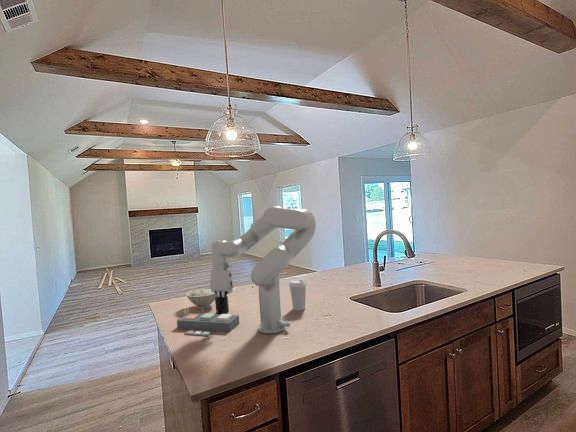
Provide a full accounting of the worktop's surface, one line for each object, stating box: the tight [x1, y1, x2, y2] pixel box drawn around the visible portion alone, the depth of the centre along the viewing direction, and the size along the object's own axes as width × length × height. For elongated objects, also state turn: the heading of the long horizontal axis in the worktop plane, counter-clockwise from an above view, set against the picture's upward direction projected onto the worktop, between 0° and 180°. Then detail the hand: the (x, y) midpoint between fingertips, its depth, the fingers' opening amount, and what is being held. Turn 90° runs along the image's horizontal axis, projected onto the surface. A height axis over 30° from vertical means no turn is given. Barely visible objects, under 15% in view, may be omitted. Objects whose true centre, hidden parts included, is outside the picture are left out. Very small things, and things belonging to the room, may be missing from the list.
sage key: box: [200, 312, 216, 320], centre depth 155 cm, size 5×5×3 cm
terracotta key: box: [184, 314, 199, 320], centre depth 157 cm, size 5×5×3 cm
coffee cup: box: [288, 278, 307, 312], centre depth 172 cm, size 10×10×15 cm
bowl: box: [185, 286, 217, 310], centre depth 185 cm, size 19×19×10 cm
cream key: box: [217, 313, 233, 321], centre depth 152 cm, size 5×5×3 cm
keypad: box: [176, 312, 240, 333], centre depth 155 cm, size 28×10×4 cm, turn 74°
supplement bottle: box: [214, 294, 230, 315], centre depth 172 cm, size 7×7×12 cm
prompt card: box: [184, 329, 213, 337], centre depth 146 cm, size 12×4×1 cm, turn 74°
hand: (222, 304), depth 152 cm, fingers closed
